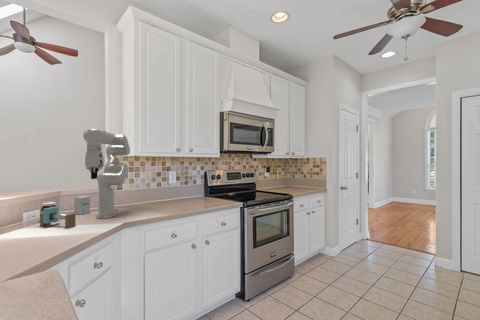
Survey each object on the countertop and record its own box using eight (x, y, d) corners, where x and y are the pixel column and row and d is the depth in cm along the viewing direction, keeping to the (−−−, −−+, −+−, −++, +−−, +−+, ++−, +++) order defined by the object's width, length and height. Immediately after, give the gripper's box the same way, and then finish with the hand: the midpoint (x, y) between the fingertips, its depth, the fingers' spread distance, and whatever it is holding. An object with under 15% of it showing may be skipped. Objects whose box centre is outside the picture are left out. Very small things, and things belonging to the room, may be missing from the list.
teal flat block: (43, 223, 140) (43, 208, 140) (54, 220, 147) (54, 206, 147) (47, 223, 139) (47, 209, 139) (58, 220, 146) (58, 206, 146)
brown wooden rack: (36, 227, 140) (36, 214, 140) (51, 223, 148) (51, 211, 148) (64, 229, 136) (64, 216, 136) (78, 225, 145) (78, 212, 145)
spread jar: (45, 218, 160) (45, 201, 160) (65, 217, 164) (65, 200, 164) (37, 223, 148) (37, 205, 148) (58, 221, 152) (58, 204, 152)
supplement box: (81, 214, 171) (81, 197, 171) (73, 214, 174) (73, 197, 174) (90, 212, 178) (90, 196, 178) (83, 212, 181) (83, 195, 181)
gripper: (109, 149, 147) (108, 178, 147) (89, 149, 150) (89, 178, 150) (99, 148, 140) (99, 179, 140) (78, 149, 143) (78, 179, 143)
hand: (94, 178), depth 145 cm, fingers closed
